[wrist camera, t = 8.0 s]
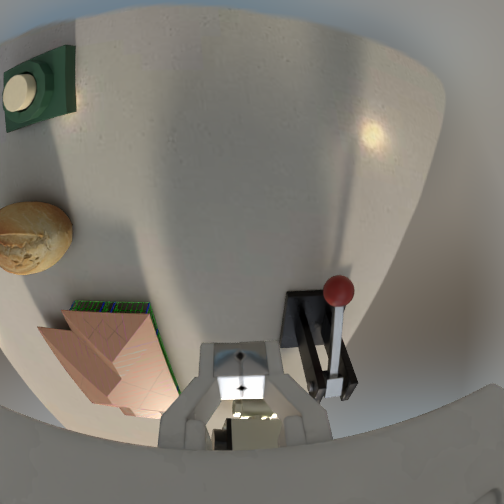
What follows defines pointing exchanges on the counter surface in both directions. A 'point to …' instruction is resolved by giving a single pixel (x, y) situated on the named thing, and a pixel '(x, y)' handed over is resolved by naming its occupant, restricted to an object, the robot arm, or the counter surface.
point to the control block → (45, 87)
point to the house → (116, 359)
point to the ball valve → (248, 427)
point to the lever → (336, 329)
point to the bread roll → (32, 237)
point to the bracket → (313, 340)
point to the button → (19, 92)
